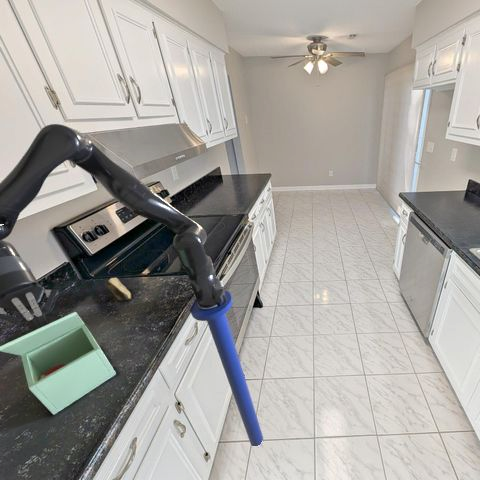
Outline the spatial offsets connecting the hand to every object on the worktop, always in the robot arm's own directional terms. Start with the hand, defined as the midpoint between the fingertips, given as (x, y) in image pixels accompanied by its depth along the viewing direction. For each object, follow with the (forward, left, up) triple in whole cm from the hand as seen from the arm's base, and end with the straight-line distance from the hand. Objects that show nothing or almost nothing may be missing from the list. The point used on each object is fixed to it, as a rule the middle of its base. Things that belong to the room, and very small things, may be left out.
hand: (44, 331), depth 66 cm
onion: (0, 0, -17) cm, 17 cm away
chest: (0, 0, -19) cm, 19 cm away
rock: (+11, -40, -19) cm, 46 cm away
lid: (+1, -1, -3) cm, 3 cm away
